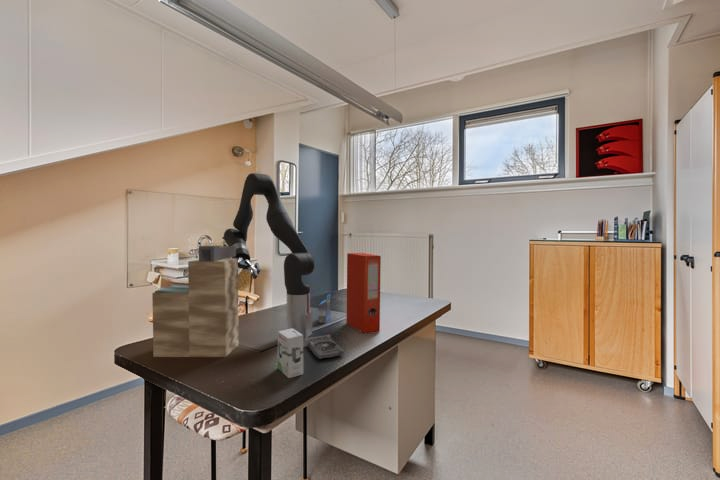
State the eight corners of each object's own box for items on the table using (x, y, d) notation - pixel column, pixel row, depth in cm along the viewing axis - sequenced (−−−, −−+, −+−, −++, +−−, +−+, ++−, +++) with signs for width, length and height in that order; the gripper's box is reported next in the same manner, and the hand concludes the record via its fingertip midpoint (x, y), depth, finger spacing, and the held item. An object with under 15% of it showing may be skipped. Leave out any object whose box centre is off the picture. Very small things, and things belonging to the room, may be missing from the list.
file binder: (362, 321, 153) (362, 252, 152) (380, 331, 138) (380, 255, 137) (346, 323, 150) (346, 253, 149) (362, 334, 134) (363, 256, 133)
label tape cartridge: (322, 317, 159) (322, 292, 159) (330, 318, 159) (330, 292, 158) (318, 322, 150) (318, 296, 150) (326, 323, 150) (326, 296, 150)
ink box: (276, 368, 101) (276, 330, 101) (291, 364, 104) (291, 327, 103) (288, 378, 94) (288, 337, 94) (304, 374, 97) (304, 334, 97)
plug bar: (225, 256, 131) (225, 243, 130) (238, 256, 131) (238, 243, 130) (198, 261, 109) (198, 246, 108) (214, 261, 109) (213, 246, 109)
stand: (173, 344, 122) (172, 258, 121) (238, 344, 122) (237, 258, 121) (153, 356, 110) (151, 261, 109) (225, 357, 110) (224, 261, 109)
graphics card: (298, 338, 120) (330, 333, 125) (299, 348, 120) (330, 343, 125) (310, 355, 104) (346, 348, 109) (311, 366, 105) (346, 359, 109)
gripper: (227, 243, 142) (231, 263, 129) (258, 251, 150) (265, 271, 138) (220, 257, 144) (224, 279, 131) (251, 264, 152) (258, 285, 140)
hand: (245, 275), depth 134 cm, fingers open, 8 cm apart
